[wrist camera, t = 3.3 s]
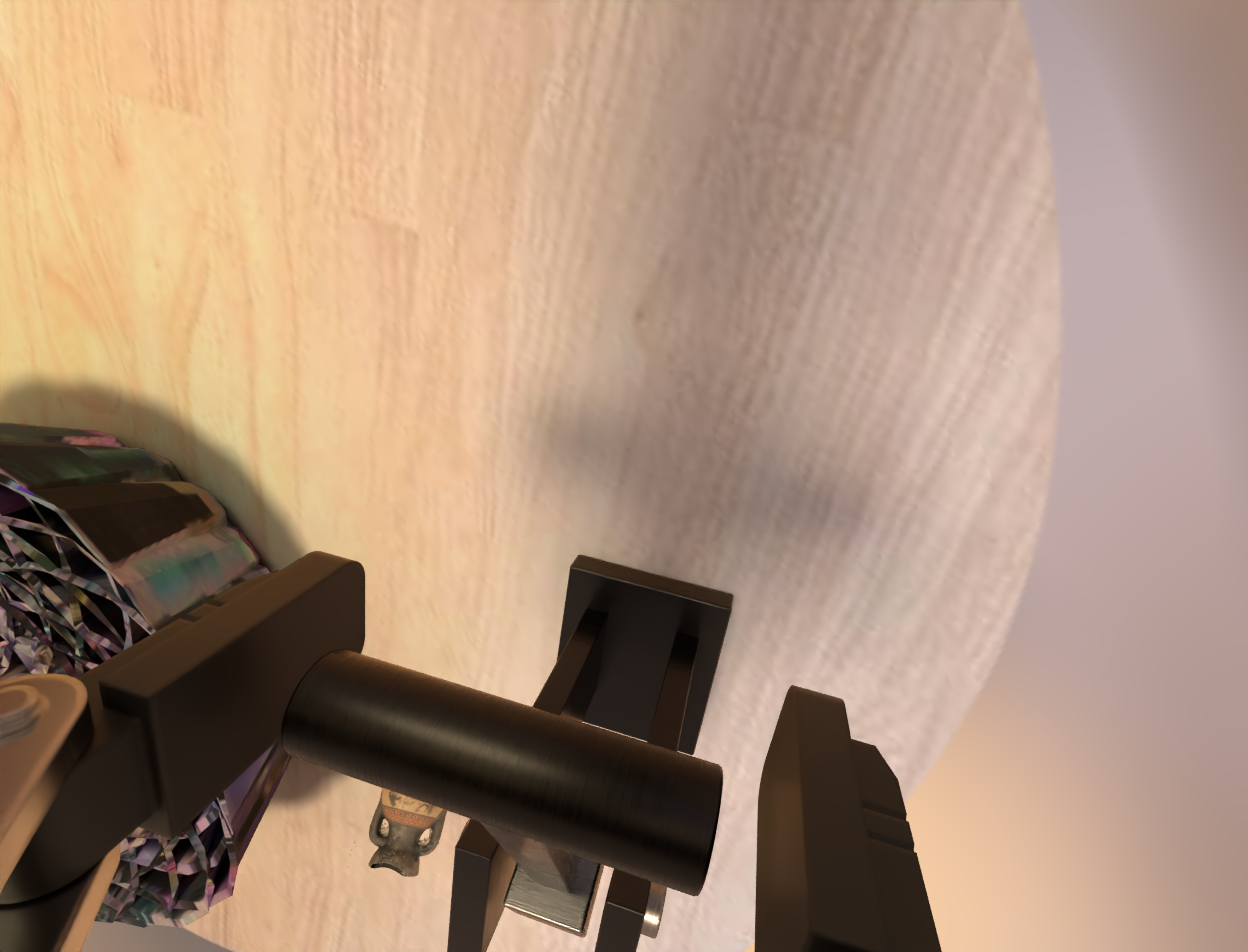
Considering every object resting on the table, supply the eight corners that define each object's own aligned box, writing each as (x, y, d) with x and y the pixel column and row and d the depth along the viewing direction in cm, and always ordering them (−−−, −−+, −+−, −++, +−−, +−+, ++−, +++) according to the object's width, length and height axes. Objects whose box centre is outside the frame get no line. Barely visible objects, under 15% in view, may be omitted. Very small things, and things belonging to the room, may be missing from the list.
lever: (350, 600, 8) (233, 779, 7) (736, 713, 7) (698, 947, 6) (496, 807, 19) (463, 893, 18) (659, 863, 18) (640, 958, 17)
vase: (485, 804, 33) (428, 912, 27) (398, 767, 33) (325, 865, 28) (502, 733, 31) (444, 834, 25) (410, 695, 31) (333, 785, 26)
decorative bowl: (88, 736, 42) (-93, 872, 34) (-113, 357, 32) (-457, 409, 23) (401, 798, 37) (282, 982, 28) (283, 359, 26) (30, 430, 17)
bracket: (578, 553, 26) (420, 781, 14) (733, 594, 25) (701, 878, 13) (557, 695, 29) (412, 983, 17) (696, 737, 28) (642, 1076, 16)
